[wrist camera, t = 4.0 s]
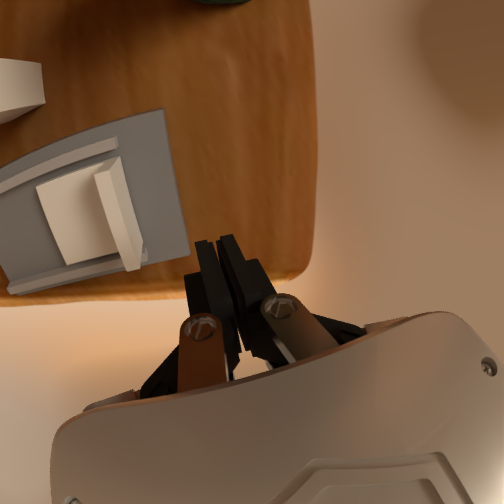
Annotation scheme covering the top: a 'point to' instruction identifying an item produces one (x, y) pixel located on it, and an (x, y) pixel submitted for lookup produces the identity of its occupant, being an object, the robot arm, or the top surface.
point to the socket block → (75, 157)
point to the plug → (19, 88)
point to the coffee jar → (221, 1)
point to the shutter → (92, 214)
